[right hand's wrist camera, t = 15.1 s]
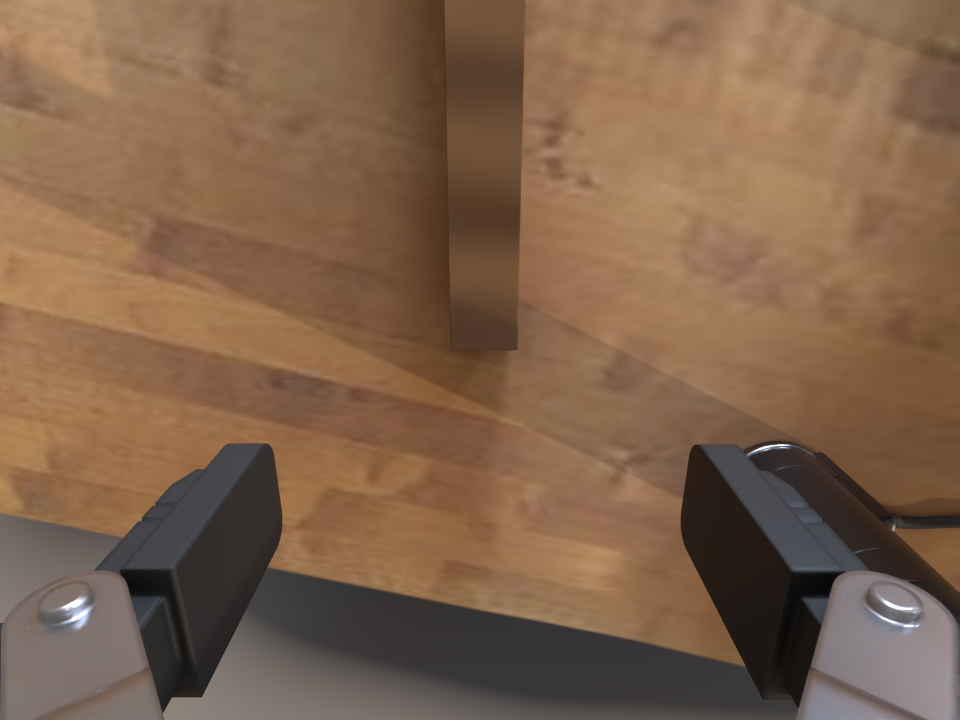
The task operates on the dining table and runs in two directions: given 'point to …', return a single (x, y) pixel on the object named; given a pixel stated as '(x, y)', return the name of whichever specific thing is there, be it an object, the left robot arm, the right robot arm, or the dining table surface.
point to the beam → (484, 169)
